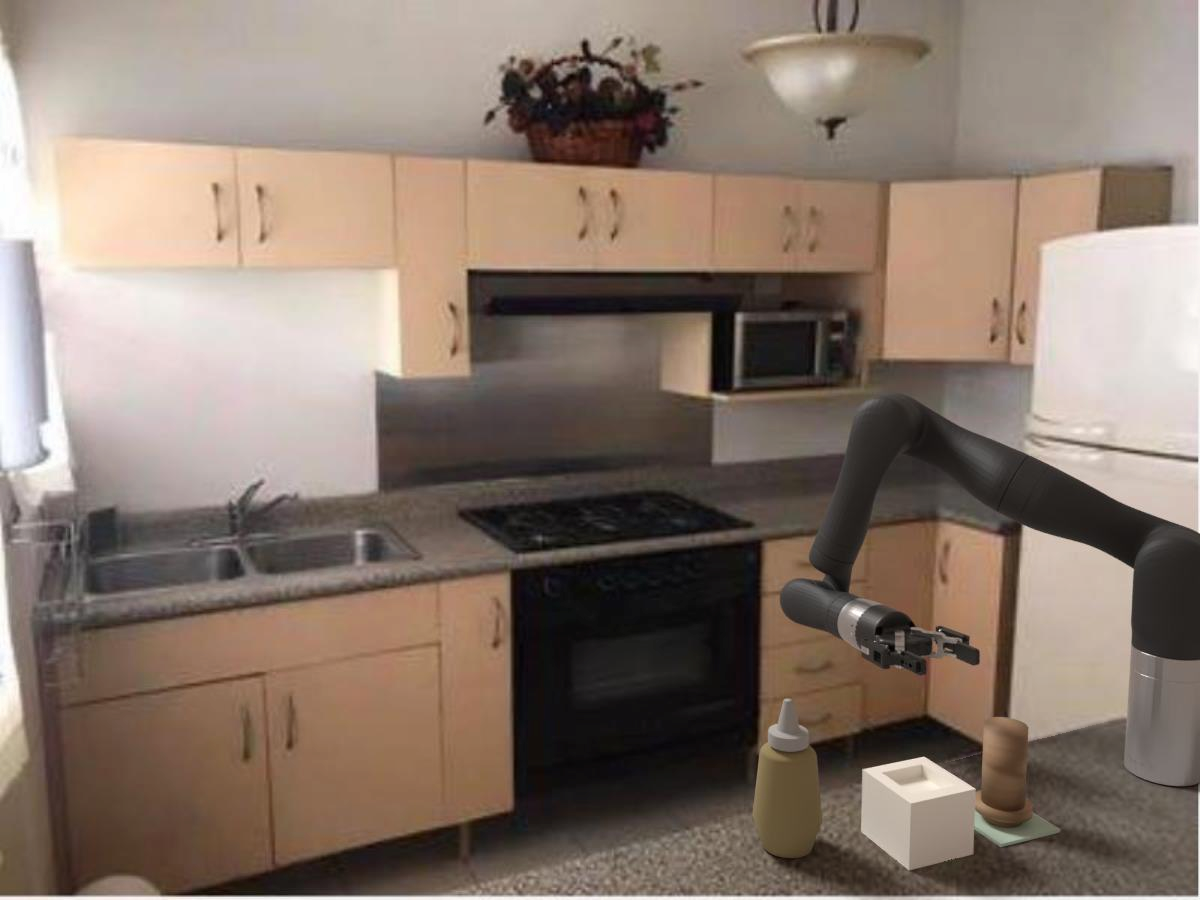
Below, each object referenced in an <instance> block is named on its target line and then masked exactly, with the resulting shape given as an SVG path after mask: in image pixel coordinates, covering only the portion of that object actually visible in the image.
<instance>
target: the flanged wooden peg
mask: <svg viewBox="0 0 1200 900" xmlns="http://www.w3.org/2000/svg"><path fill="white" fill-rule="evenodd" d="M982 737H983V739H982V741H983V742H982V759H981V760H982V763H981V766H982V767H981V789H980V790H976V797H975V810H976V811H977V812H978V813H979V814H981V815H982V817H983V819H984V820H985V821H987V822H988V823H990V824H992V825H995V826H998V827H1004V828H1015V827H1018V826H1020V825H1021V824H1022V822H1025V821H1028V820H1030V819H1031V818H1032V816H1033V813H1034V805H1033V803H1032V801H1031V800H1030V799H1029V798H1028V797H1027V796H1026V794H1027V793H1026V792H1027V791H1026V789H1027V770H1028V769H1027V766H1028V750H1029V749H1028V747H1029V746H1028V745H1029V744H1028V743H1029V726H1028V724H1026V723H1025V722H1023V721H1021V720H1018V719H1015V718H1011V717H1006V716H993V717H988V718H986V719H985V720H984V721H983V735H982Z"/></svg>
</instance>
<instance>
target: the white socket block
mask: <svg viewBox="0 0 1200 900" xmlns="http://www.w3.org/2000/svg"><path fill="white" fill-rule="evenodd" d="M861 771H862V773H861V774H862V775H861V776H862V777H861V779H862V781H861V813H860V815H861V817H860V818H861V819H860V824H861V825H860V832H861V833H862V834H863V835H864V836H865V835H866V836H865V837H866V838H868V839H869V840H871V841H872V842H873V843H874V844H875V845H877V846H878V847H879V848H880V849H882V850H883V851H884V852H885V853H886V854H888V855H889V856H890V857H891V858H892V859H894V860H895V861H896V860H897V861H896V862H897V863H899V864H900V865H902V867H904V868H905V869H906V870H908V871H912V870H916V869H921V868H924V867H928V866H932V865H936V864H941V863H945V862H948V860H949V861H952V860H956V859H960V858H964V857H968V856H971V855H974V847H975V839H974V838H975V829H974V822H975V797H976V792H977V789H976V788H975V787H973V786H972V785H970V784H969V783H967V782H966V781H964V780H962V779H961V778H959V777H958V776H956V775H954V774H953V773H951V772H950V771H948V770H947V769H944V768H943V767H942V766H940V765H938V764H937V763H935V762H934V761H931V759H929V758H927V757H925V756H922V757H920V756H919V757H916V758H912V759H906V760H901V761H896V762H891V763H887V764H881V765H877V766H872V767H867V768H862V770H861ZM955 858H956V859H955ZM951 859H952V860H951ZM944 861H945V862H944Z"/></svg>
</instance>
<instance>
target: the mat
mask: <svg viewBox="0 0 1200 900" xmlns="http://www.w3.org/2000/svg"><path fill="white" fill-rule="evenodd" d="M974 831H976V832H977V833H979V834H981V835H982V836H983V837H985V838H986V839H988V840H989V841H990V842H992V843H993V844H995V845H997V846H998V847H1000V848H1004V847H1008V846H1011V845H1012V846H1013V845H1015V844H1020V843H1023V842H1027V841H1031V840H1035V839H1039V838H1043V837H1047V836H1052V835H1055V834H1060V833H1061V828H1059V827H1057V826H1056V825H1054V824H1053V823H1051V822H1049V821H1047V820H1046V819H1044V818H1043V817H1041V816H1039V815H1038V814H1036V813H1034V812H1033V816H1032V818H1031V819H1030V820H1028V821H1025V822H1022V824H1021V825H1020V826H1018V827H1015V828H1004V827H998V826H995V825H992V824H990V823H988V822H987V821H985V820H984V819H983V817H982V815H981V814H979V813H978V812H977V811H976V810H975V822H974Z"/></svg>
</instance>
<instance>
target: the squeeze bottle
mask: <svg viewBox="0 0 1200 900" xmlns="http://www.w3.org/2000/svg"><path fill="white" fill-rule="evenodd" d="M798 718H799V717H798V715H797V710H796V704H795V700H794V699H793V698H784V699H783V701H782V705H781V709H780V713H779V718H778V721H777V723H774V724H773V725H770V726H769V728H768V729H767V742H765V743H764V744H763V745H762V746H761V748H760V749H759V755H758V764H757V772H756V773H757V774H756V782H755V788H754V789H755V790H754V799H753V807H752V819H753V821H754V824H755V826H756V830H757V834H758V836H759V837H758V838H759V839H760V842H761V846H762V847H763V849H764V850H765V851H766V852H767V853H769V854H771V855H773V856H775V857H780V858H784V859H799V858H803V857H805V856H807V855H808V854H810V853H811V851H812V849H813V847H814V844H815V842H816V839H817V836H818V834H819V831H820V828H821V826H822V823H823V811H822V799H821V789H820V777H819V767H818V766H819V765H818V755H817V753H816V751H815V749H814V748H813V747H812V746H811V745H810V743H809V742H810V741H809V740H810V733H809V730H808V729H807V728H806V727H804V726H803V725H801V724H799V719H798Z"/></svg>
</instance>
